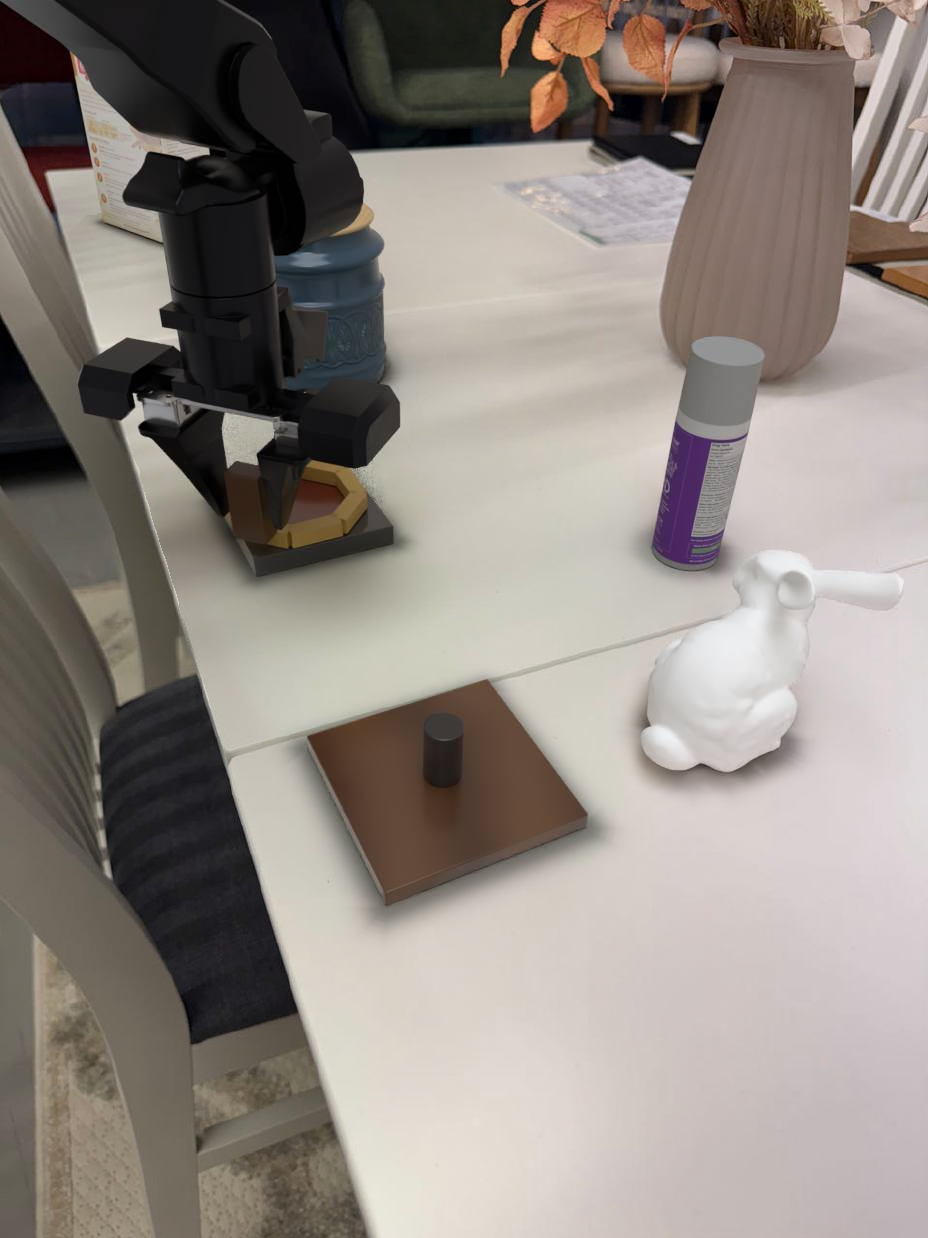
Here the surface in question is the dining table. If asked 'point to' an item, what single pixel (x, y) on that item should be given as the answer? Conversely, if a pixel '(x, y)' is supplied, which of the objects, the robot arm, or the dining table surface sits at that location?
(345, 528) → the ring
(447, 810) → the brown peg base
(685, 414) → the container
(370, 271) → the canister
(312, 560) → the stove
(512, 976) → the dining table surface
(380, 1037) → the dining table surface
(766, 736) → the rabbit
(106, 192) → the coffeecake box
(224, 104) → the robot arm
